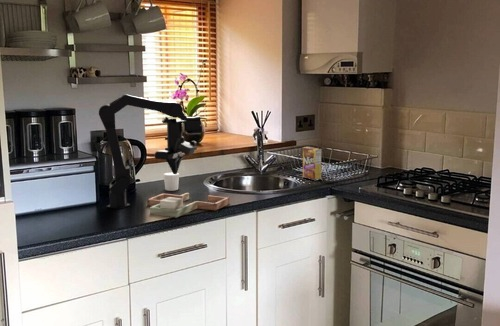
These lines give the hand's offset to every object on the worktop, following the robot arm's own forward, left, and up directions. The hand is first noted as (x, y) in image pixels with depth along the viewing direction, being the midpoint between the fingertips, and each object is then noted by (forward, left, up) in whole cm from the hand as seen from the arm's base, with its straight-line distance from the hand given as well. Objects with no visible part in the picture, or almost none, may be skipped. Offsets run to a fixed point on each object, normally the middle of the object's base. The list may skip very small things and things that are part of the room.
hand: (175, 174), depth 221 cm
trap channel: (-5, -6, -12) cm, 14 cm away
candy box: (+64, -34, -12) cm, 73 cm away
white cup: (+20, +15, -12) cm, 28 cm away
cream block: (-12, -6, -12) cm, 18 cm away
